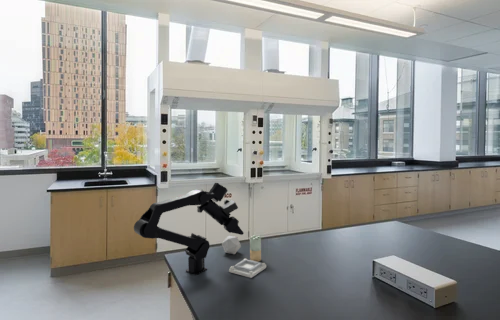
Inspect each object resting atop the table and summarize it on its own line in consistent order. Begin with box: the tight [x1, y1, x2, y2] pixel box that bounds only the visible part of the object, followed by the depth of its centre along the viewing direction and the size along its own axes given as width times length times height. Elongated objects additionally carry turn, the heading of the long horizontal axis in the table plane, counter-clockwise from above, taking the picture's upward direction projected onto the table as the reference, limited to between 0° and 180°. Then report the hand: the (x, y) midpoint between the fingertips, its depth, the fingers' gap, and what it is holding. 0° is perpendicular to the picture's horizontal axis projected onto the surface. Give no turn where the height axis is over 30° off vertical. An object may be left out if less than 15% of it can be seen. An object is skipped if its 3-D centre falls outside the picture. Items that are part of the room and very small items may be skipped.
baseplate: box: [228, 258, 267, 279], centre depth 135 cm, size 12×11×2 cm
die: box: [221, 235, 242, 255], centre depth 155 cm, size 8×9×10 cm
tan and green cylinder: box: [249, 234, 262, 262], centre depth 145 cm, size 5×5×11 cm
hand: (239, 230), depth 143 cm, fingers open, 9 cm apart
